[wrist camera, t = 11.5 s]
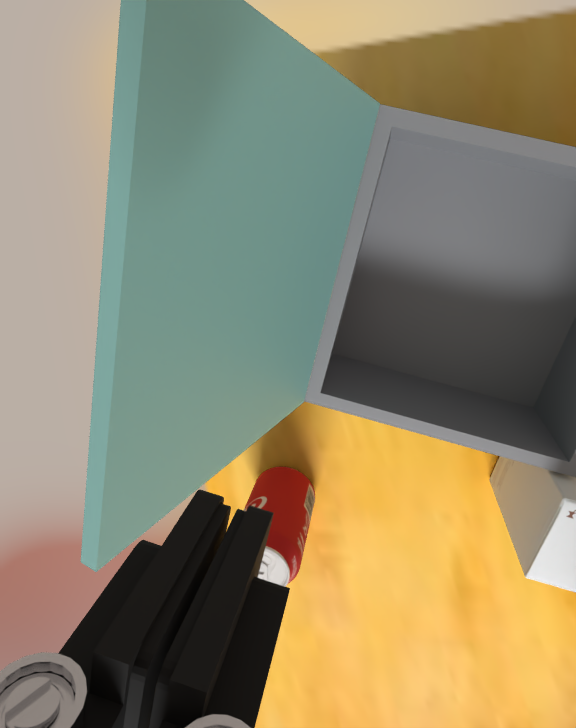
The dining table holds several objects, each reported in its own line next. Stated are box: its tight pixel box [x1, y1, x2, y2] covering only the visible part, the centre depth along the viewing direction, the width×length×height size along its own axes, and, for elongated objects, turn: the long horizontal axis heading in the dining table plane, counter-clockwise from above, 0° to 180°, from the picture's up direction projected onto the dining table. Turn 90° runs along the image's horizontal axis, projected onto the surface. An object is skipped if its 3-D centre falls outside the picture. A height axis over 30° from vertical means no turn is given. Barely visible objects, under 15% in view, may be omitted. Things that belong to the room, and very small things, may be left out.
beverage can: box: [244, 467, 315, 587], centre depth 46 cm, size 6×6×12 cm
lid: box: [81, 0, 380, 572], centre depth 24 cm, size 20×20×1 cm
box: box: [304, 104, 576, 477], centre depth 36 cm, size 20×20×10 cm
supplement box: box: [490, 456, 576, 592], centre depth 39 cm, size 7×7×13 cm
